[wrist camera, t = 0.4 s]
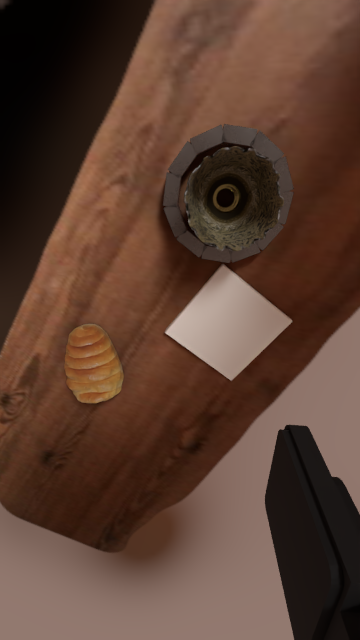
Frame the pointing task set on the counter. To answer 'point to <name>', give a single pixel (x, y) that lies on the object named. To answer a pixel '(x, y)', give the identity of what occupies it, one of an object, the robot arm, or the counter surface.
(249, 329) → the stone coaster
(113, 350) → the pastry
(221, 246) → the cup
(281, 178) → the stone ring
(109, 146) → the counter surface
